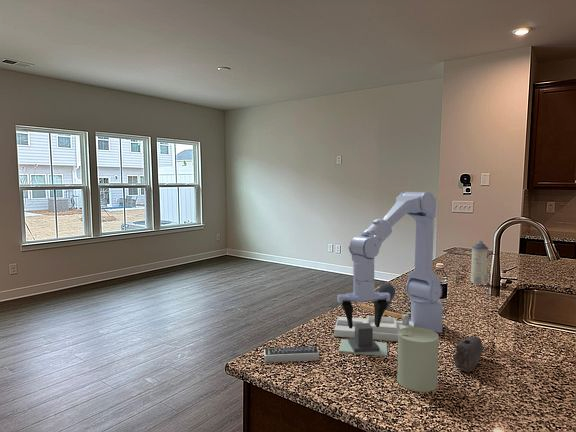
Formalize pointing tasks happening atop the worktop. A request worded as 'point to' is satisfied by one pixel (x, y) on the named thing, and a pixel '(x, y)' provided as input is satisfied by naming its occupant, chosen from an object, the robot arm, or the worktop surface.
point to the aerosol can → (479, 264)
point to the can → (418, 359)
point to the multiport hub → (291, 354)
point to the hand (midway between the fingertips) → (363, 326)
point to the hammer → (404, 316)
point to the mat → (347, 348)
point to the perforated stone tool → (468, 353)
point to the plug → (363, 339)
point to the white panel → (383, 332)
